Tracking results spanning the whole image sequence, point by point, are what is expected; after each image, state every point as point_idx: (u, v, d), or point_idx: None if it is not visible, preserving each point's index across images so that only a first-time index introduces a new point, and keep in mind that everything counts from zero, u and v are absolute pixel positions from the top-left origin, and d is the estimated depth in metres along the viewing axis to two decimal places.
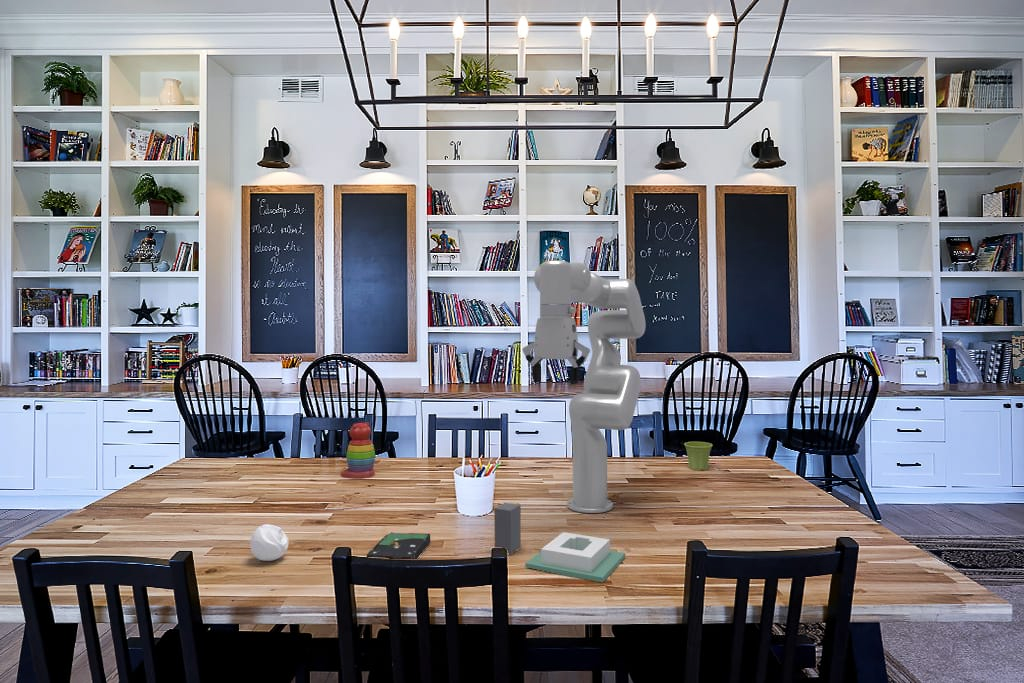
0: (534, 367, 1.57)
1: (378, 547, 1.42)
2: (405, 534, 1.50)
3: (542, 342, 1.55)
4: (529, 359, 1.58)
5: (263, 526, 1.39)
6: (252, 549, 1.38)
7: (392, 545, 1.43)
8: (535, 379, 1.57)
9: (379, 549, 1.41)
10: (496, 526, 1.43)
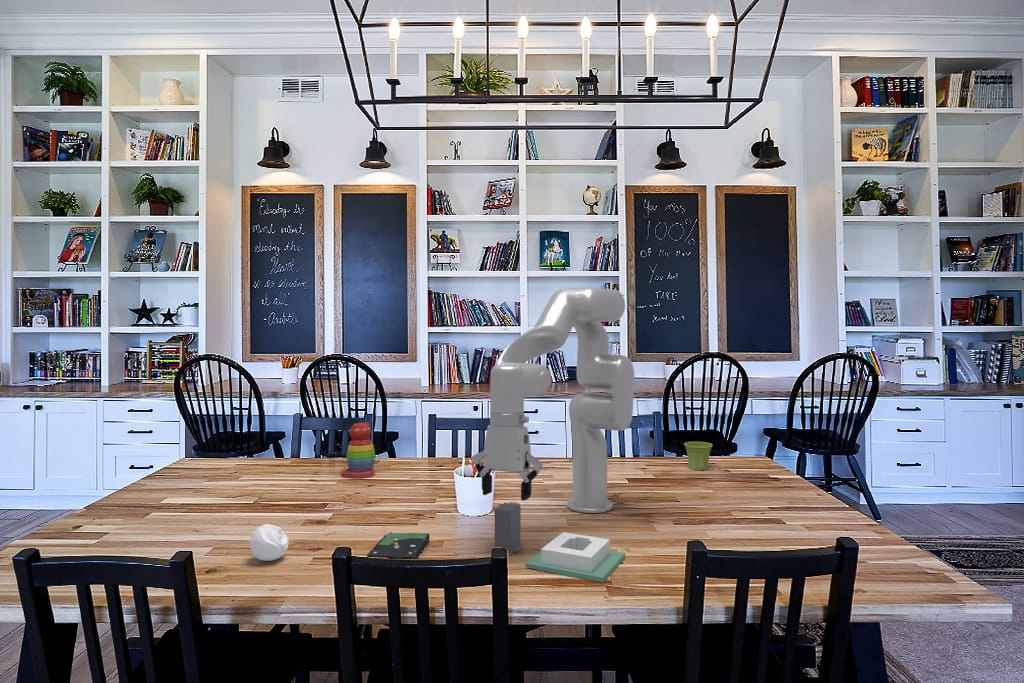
0: (483, 478, 1.45)
1: (378, 547, 1.42)
2: (404, 534, 1.50)
3: (491, 453, 1.43)
4: (479, 469, 1.46)
5: (263, 526, 1.39)
6: (252, 549, 1.38)
7: (392, 545, 1.43)
8: (484, 491, 1.45)
9: (379, 549, 1.41)
10: (496, 526, 1.43)
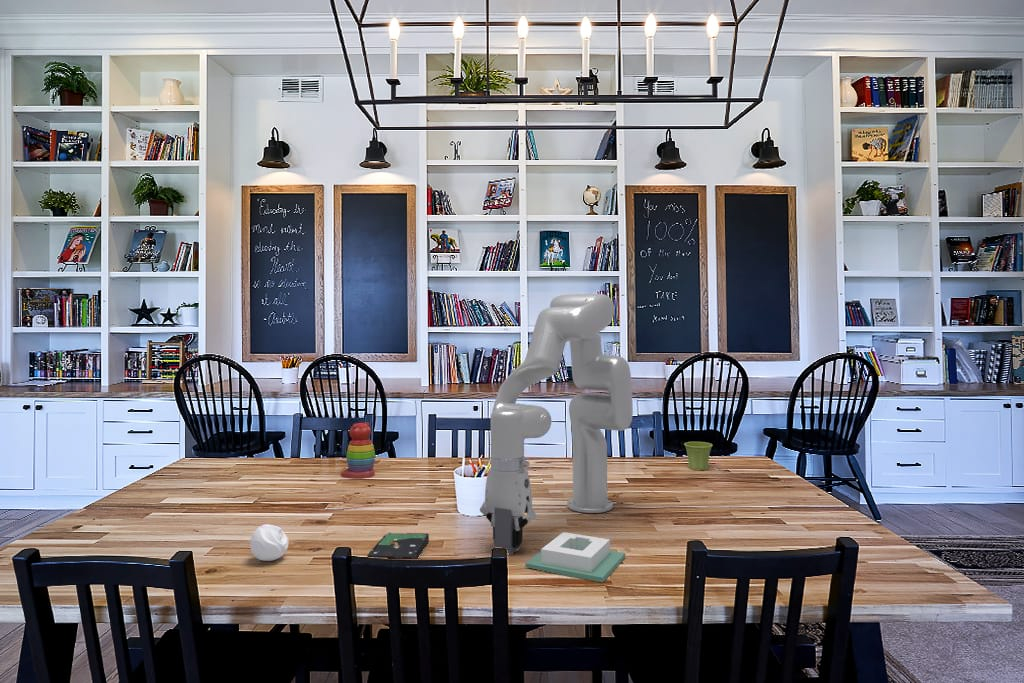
0: None
1: (378, 547, 1.42)
2: (403, 534, 1.50)
3: (492, 497, 1.44)
4: (490, 518, 1.46)
5: (263, 526, 1.39)
6: (252, 549, 1.38)
7: (392, 545, 1.43)
8: None
9: (379, 549, 1.41)
10: (496, 526, 1.43)
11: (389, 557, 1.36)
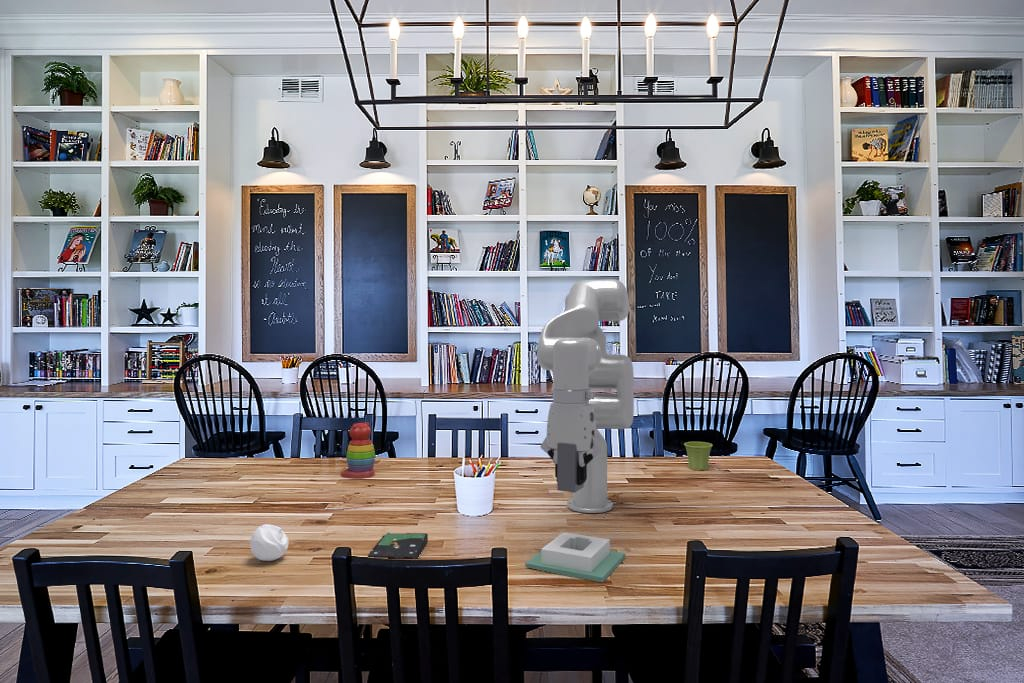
0: None
1: (378, 548, 1.42)
2: (402, 534, 1.50)
3: (555, 432, 1.36)
4: (551, 455, 1.39)
5: (263, 526, 1.39)
6: (252, 549, 1.38)
7: (392, 545, 1.43)
8: None
9: (379, 549, 1.41)
10: (559, 462, 1.36)
11: (390, 557, 1.36)
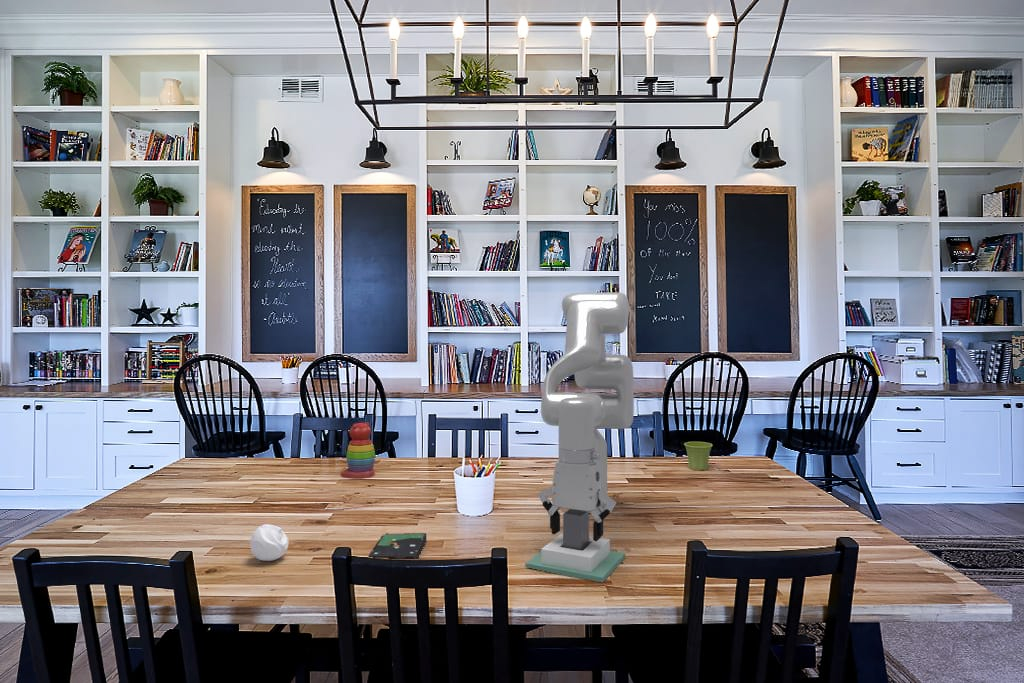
0: (552, 517, 1.38)
1: (377, 548, 1.42)
2: (401, 534, 1.50)
3: (561, 491, 1.36)
4: (546, 506, 1.39)
5: (263, 526, 1.39)
6: (252, 549, 1.38)
7: (391, 545, 1.42)
8: (553, 531, 1.38)
9: (379, 550, 1.41)
10: (565, 532, 1.36)
11: (391, 557, 1.36)
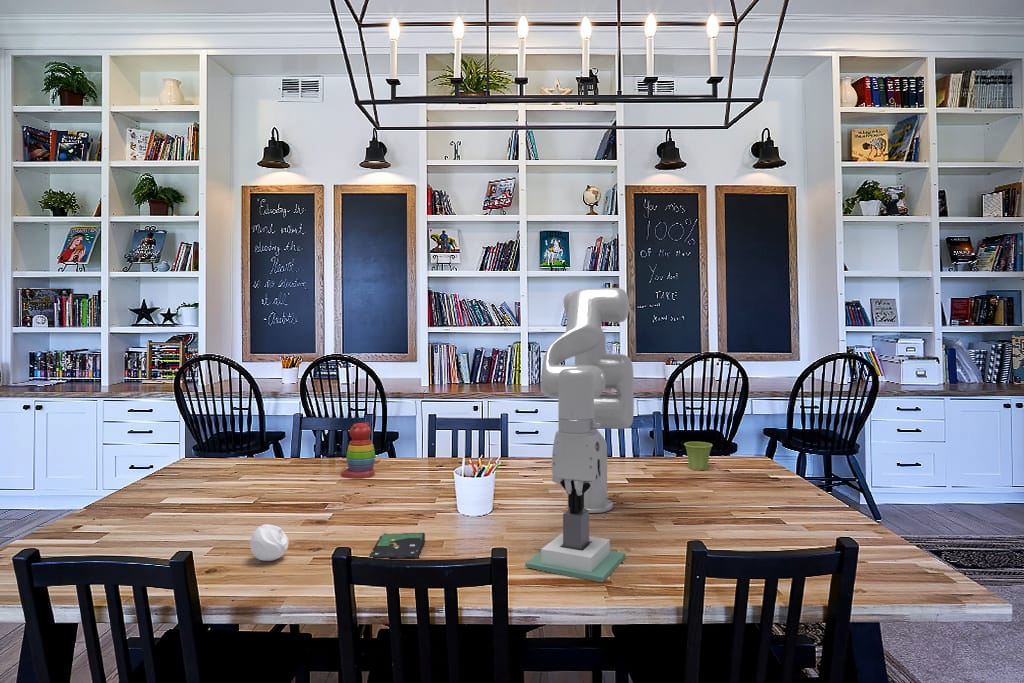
0: (571, 496, 1.36)
1: (377, 548, 1.41)
2: (399, 534, 1.50)
3: (561, 461, 1.36)
4: (565, 485, 1.37)
5: (263, 526, 1.39)
6: (252, 549, 1.38)
7: (391, 546, 1.42)
8: (572, 509, 1.36)
9: (379, 550, 1.40)
10: (565, 532, 1.36)
11: (391, 557, 1.36)
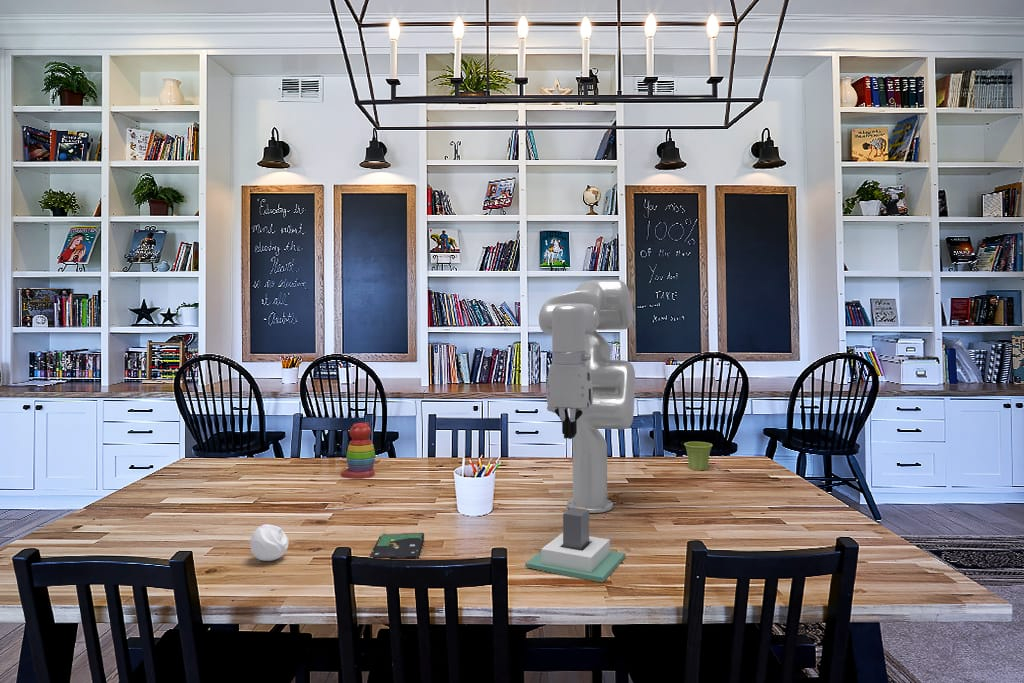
0: (564, 422, 1.48)
1: (377, 548, 1.41)
2: (399, 534, 1.50)
3: (555, 391, 1.47)
4: (559, 413, 1.49)
5: (263, 526, 1.39)
6: (252, 549, 1.38)
7: (391, 546, 1.42)
8: (565, 435, 1.48)
9: (379, 550, 1.40)
10: (565, 532, 1.36)
11: (392, 557, 1.36)
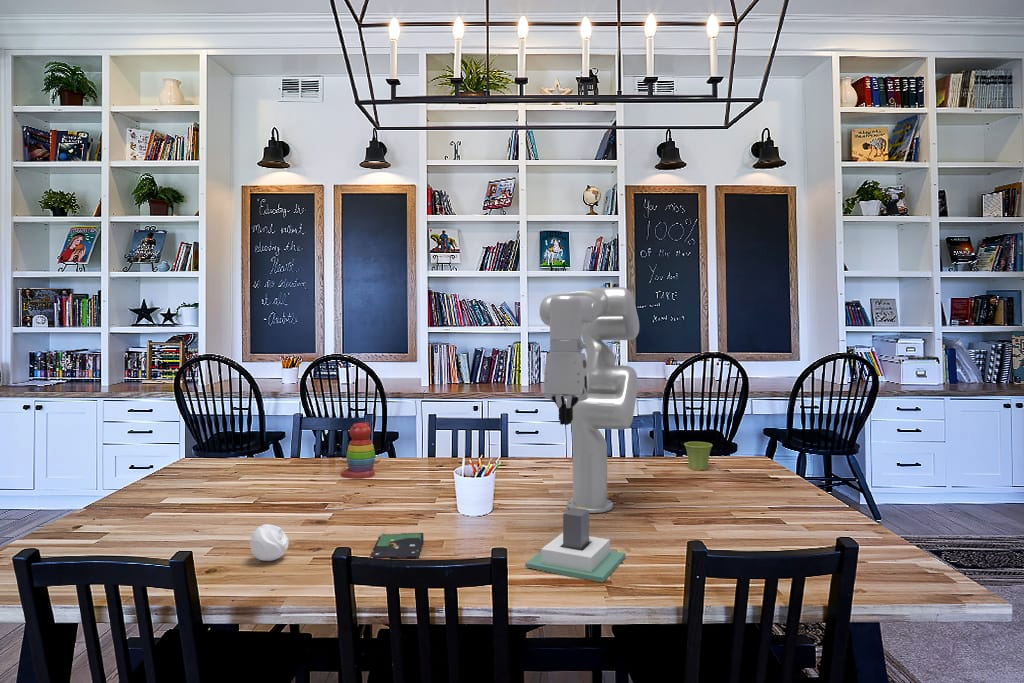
0: (561, 409, 1.53)
1: (377, 549, 1.41)
2: (398, 534, 1.50)
3: (552, 378, 1.53)
4: (555, 400, 1.54)
5: (263, 526, 1.39)
6: (252, 549, 1.38)
7: (391, 546, 1.42)
8: (562, 421, 1.53)
9: (379, 550, 1.40)
10: (565, 532, 1.36)
11: (392, 557, 1.36)
